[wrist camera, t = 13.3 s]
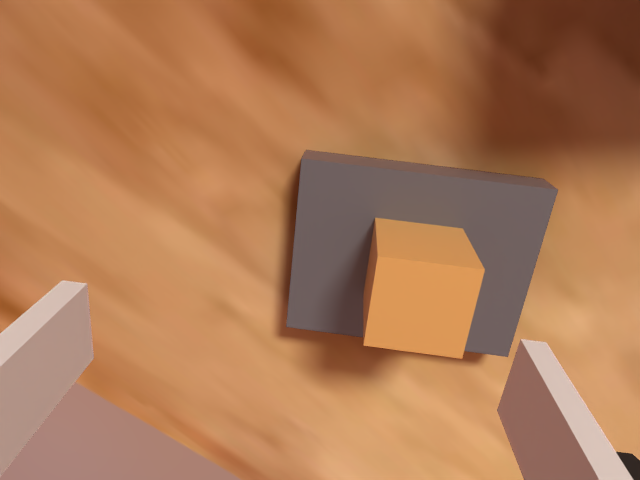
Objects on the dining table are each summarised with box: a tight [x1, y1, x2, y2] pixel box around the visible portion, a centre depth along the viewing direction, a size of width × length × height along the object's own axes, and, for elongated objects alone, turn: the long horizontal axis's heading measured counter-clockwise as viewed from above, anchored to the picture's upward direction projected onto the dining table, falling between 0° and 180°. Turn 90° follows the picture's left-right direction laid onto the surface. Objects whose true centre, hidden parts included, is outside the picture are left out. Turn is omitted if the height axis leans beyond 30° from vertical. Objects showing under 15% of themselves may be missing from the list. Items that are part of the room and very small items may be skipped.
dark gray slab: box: [286, 150, 558, 357], centre depth 38 cm, size 18×14×3 cm
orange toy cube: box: [363, 218, 485, 359], centre depth 34 cm, size 6×6×7 cm
